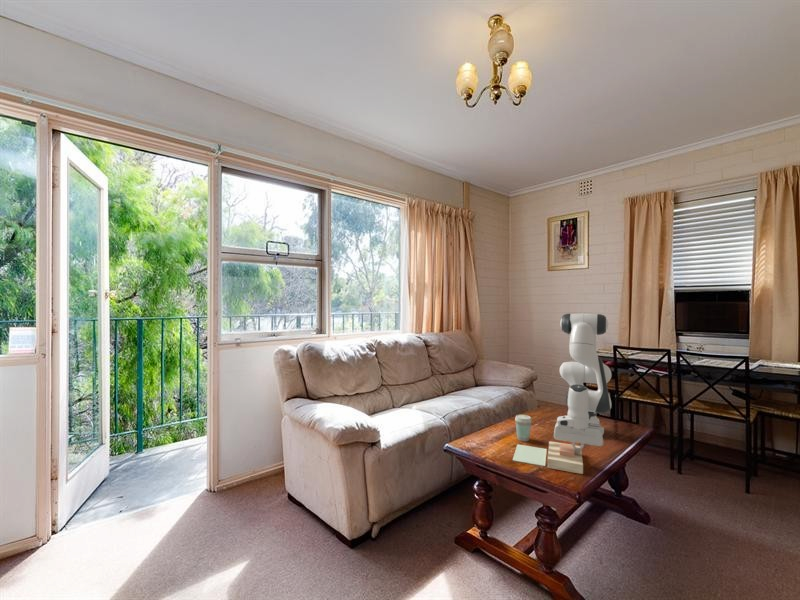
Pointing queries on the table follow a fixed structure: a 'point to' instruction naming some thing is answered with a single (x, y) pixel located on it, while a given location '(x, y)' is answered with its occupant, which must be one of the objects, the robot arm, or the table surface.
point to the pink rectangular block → (566, 450)
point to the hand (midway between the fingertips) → (577, 452)
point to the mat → (530, 455)
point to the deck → (564, 459)
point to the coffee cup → (523, 427)
